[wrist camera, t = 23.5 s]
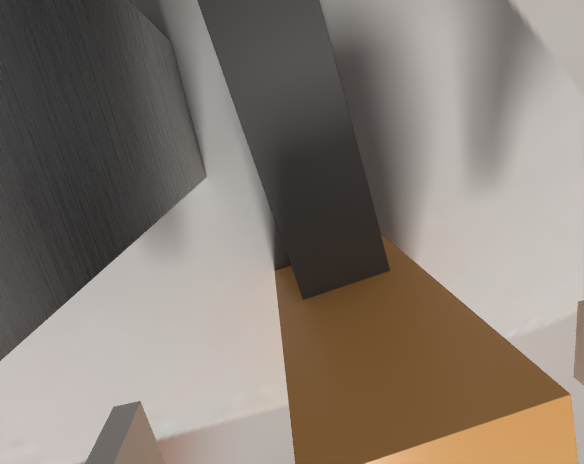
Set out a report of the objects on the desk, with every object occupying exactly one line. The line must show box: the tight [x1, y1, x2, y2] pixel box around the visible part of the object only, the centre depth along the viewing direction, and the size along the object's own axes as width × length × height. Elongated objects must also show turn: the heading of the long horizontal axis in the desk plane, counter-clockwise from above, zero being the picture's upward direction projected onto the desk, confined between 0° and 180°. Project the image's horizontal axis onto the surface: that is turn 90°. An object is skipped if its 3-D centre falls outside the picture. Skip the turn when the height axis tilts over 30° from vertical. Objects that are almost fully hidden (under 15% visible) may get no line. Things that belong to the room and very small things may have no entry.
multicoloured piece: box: [198, 0, 578, 464], centre depth 10 cm, size 16×5×10 cm, turn 18°
